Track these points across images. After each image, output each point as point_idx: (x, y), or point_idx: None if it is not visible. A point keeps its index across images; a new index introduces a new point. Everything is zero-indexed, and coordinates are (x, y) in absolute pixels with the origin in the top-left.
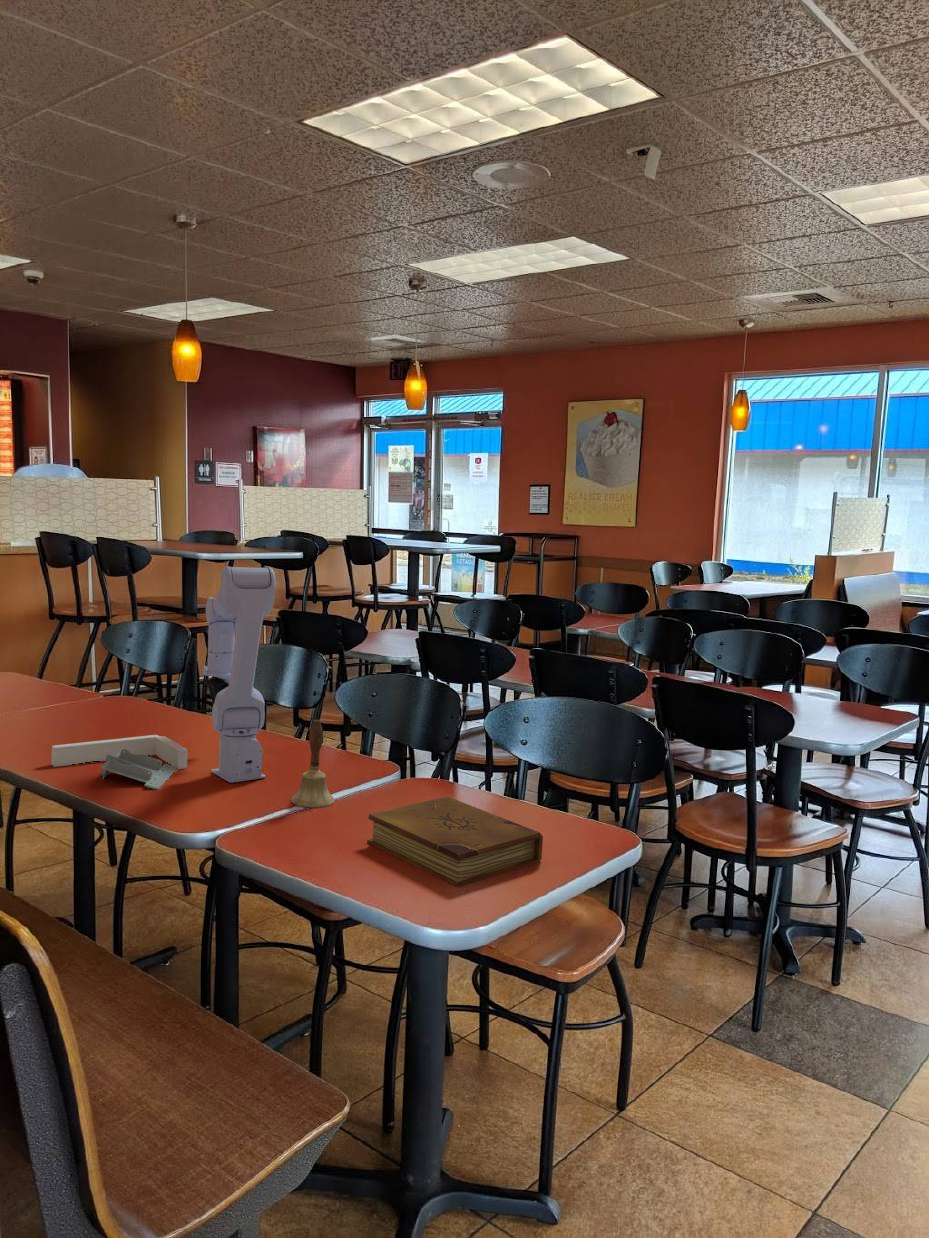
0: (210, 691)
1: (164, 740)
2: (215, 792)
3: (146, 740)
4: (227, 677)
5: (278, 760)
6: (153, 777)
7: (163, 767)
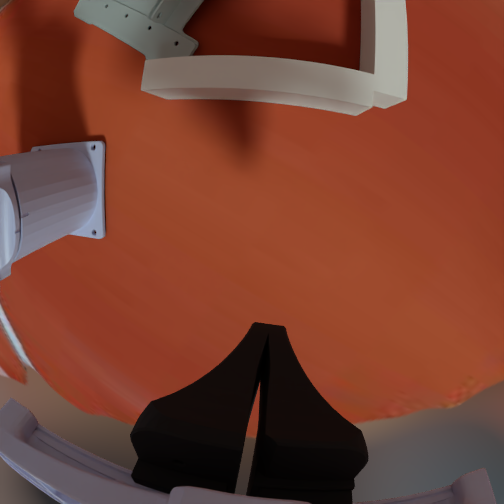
0: (293, 391)
1: (306, 71)
2: (18, 106)
3: (372, 47)
4: (8, 444)
5: (134, 328)
6: (112, 3)
7: (169, 33)
